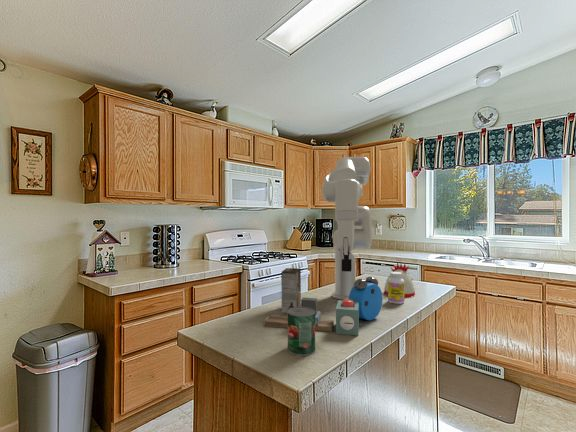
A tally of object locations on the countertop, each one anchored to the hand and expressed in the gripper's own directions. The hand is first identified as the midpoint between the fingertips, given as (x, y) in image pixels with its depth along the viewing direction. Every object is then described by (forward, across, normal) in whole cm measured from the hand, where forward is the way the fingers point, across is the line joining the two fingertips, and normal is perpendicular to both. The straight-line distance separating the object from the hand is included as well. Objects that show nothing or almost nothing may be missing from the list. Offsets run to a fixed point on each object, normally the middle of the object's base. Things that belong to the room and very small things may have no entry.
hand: (346, 270), depth 104 cm
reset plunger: (+15, +1, 0) cm, 15 cm away
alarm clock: (+20, -11, +6) cm, 23 cm away
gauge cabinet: (+19, +1, 0) cm, 19 cm away
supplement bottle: (+20, -36, +20) cm, 45 cm away
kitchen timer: (+20, -52, +23) cm, 60 cm away
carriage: (+17, +1, -13) cm, 22 cm away
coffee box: (+20, -15, -22) cm, 34 cm away
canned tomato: (+19, +20, -12) cm, 30 cm away
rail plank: (+19, +1, -16) cm, 25 cm away
